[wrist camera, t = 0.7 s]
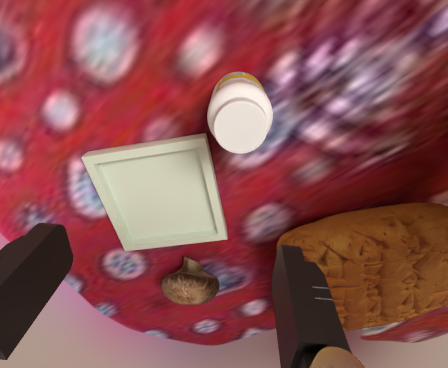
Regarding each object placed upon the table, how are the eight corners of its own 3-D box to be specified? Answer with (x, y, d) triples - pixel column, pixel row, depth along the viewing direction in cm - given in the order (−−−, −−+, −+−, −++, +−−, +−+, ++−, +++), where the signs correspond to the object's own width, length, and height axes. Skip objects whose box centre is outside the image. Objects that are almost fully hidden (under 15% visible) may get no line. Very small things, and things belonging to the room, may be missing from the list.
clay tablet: (280, 294, 43) (289, 346, 36) (268, 205, 35) (277, 249, 28) (431, 278, 40) (473, 331, 33) (456, 178, 32) (518, 219, 25)
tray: (206, 132, 30) (204, 137, 29) (227, 231, 37) (227, 239, 36) (87, 151, 32) (81, 157, 30) (128, 243, 39) (125, 251, 37)
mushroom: (178, 251, 35) (176, 305, 32) (230, 255, 39) (231, 303, 36) (154, 259, 41) (151, 305, 38) (201, 262, 45) (201, 304, 42)
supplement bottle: (243, 133, 30) (248, 175, 22) (202, 105, 29) (189, 138, 20) (275, 91, 28) (293, 119, 20) (231, 59, 27) (231, 74, 18)
